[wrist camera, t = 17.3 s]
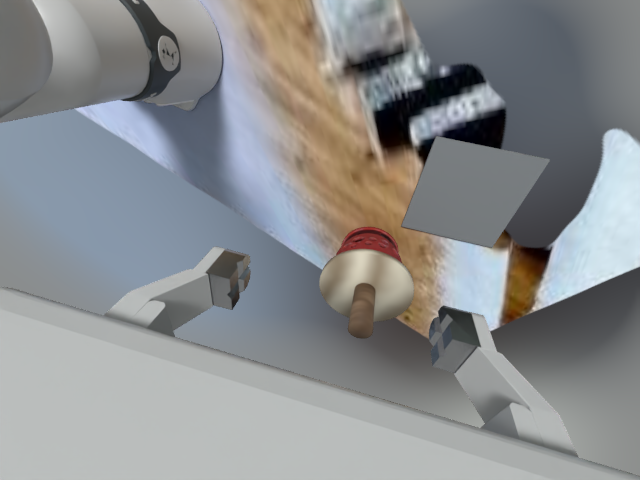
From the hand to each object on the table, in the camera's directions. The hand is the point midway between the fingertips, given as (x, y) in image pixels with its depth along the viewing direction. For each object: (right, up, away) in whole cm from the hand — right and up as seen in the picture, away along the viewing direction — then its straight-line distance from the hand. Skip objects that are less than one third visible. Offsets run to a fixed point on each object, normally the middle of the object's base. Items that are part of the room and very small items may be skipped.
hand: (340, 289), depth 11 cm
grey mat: (+24, +10, +36) cm, 44 cm away
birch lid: (+7, -6, +36) cm, 38 cm away
